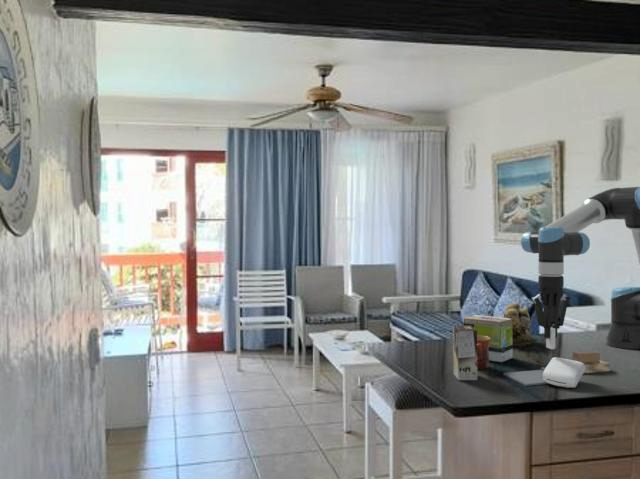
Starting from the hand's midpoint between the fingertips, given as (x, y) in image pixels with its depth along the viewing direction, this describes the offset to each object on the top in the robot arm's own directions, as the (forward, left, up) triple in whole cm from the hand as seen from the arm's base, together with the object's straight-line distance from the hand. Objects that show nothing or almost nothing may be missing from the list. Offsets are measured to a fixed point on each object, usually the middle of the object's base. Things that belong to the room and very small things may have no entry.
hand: (550, 348), depth 186 cm
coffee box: (+26, -8, -10) cm, 29 cm away
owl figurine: (-16, -45, -10) cm, 49 cm away
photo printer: (-4, +3, -5) cm, 7 cm away
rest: (-17, -4, -9) cm, 20 cm away
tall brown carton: (-14, -4, -7) cm, 16 cm away
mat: (+5, 0, -9) cm, 11 cm away
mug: (+17, -16, -10) cm, 25 cm away
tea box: (+6, -29, -10) cm, 31 cm away
